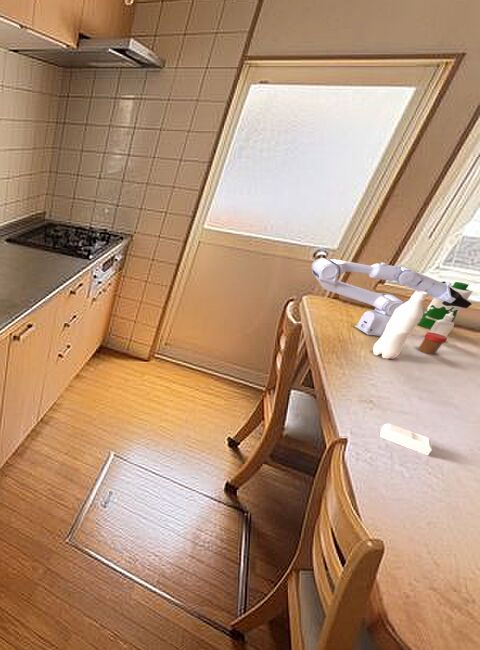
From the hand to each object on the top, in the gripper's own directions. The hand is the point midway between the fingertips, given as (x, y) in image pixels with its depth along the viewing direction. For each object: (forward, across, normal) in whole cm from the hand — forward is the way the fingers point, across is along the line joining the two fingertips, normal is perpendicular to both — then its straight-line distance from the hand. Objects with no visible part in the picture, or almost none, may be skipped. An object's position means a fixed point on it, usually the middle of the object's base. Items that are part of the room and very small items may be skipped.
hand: (463, 301), depth 159 cm
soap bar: (-41, -89, +20) cm, 100 cm away
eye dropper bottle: (+7, +3, +18) cm, 19 cm away
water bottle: (-22, -28, +22) cm, 42 cm away
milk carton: (+14, +19, +18) cm, 29 cm away
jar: (-3, -14, +18) cm, 23 cm away
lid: (-5, -13, +12) cm, 19 cm away
